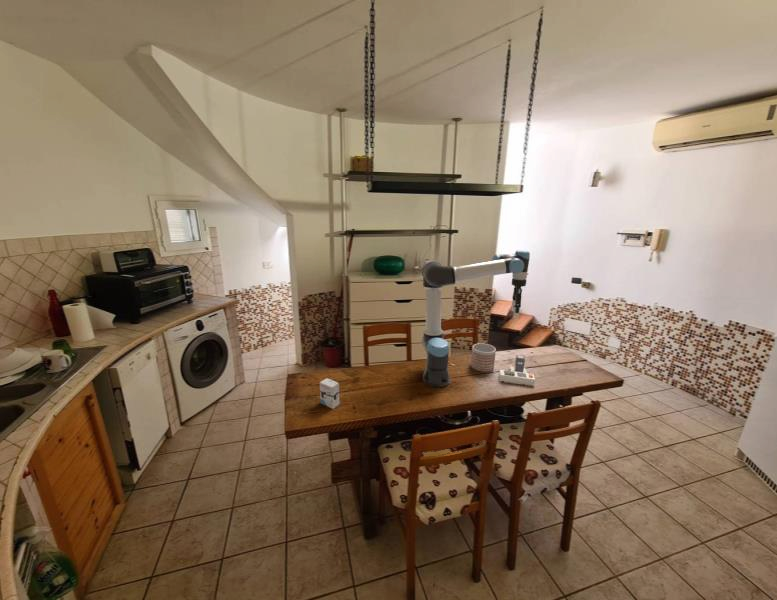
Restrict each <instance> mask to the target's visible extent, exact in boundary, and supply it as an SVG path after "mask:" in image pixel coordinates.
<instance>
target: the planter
mask: <svg viewBox="0 0 777 600" xmlns="http://www.w3.org/2000/svg"><path fill="white" fill-rule="evenodd" d="M496 351H497V349H496V347H495V346H493V345H491V344H489V343H482V342H479V343H475V344H473V345H472V348H471V357H470V358H471V359H470V367H471V368H472V369H474V370H475V371H478V372H483V373H488V372H491V371H493V370H494V368H495V361H496V353H497V352H496Z"/></svg>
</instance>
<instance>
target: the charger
mask: <svg viewBox="0 0 777 600" xmlns="http://www.w3.org/2000/svg"><path fill="white" fill-rule="evenodd" d="M525 361H526V358H525V355H520V354H519V355H518V354H516V355H515V361H514V362H515V363H514V367H515V368H514V369H515V372H522V373H523V370H524V368H525Z"/></svg>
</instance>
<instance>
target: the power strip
mask: <svg viewBox="0 0 777 600" xmlns="http://www.w3.org/2000/svg"><path fill="white" fill-rule="evenodd" d="M498 379H500V380H499V382H502V381H504V383H509V382H510V383H509V384H518V385H523V384H525V386H530V385H531V387H534V386H535V383H536V378H535V375H534V373H528V372H527V373H522V372H515V371H511V370H506V369H499V372H498Z"/></svg>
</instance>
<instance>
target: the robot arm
mask: <svg viewBox="0 0 777 600" xmlns="http://www.w3.org/2000/svg"><path fill="white" fill-rule="evenodd" d="M530 256H531V253H530V251H528V250H521V249H519V250H515V252H514V253H512V254H510V253H509V254H506V253H505V254H504V253H503V254H501V253H498V254H494V255H493V256H492V260H490V261H483V262H479V263H478V262H477V263H471V264H466V265H460V266H453V265H442V263H441V262H438V261H436V260H431V261H427V262H426V263H425V264H424V265H423V267H422V268H421V275H422V286H423V288H424V289H425V328H424V329H423V333H422V334H423V335H422V342H421V343H422V347H423V348H424V351H425V353H426V367H425V369H424V372H423V374H422V382H423V383H424V384H425V385H428V386H429V387H433V388H444V387H447V386H448V385H450V382H451V377H450V373H449V369H448V368H449V366H448V365H449V353H450V344H449V341H448V340H446V339H444V330H443V329H442V289H443V288H444V287H445V286H449V285H450V286H452V285H456V283H457V282H458V283H459V282H463V281H468V280H469V281H470V280H474V279H480V278H487V277H493V276H498V275H499V276H500V275H505V274H512V277H511V278H512V279H511V285H512V286H514V287H513V293H512V297H511V298H512V300H511V301H512V302H511V308H510V310H511V312H513V316H512V318H513V319H519V318H520V309H521V307H522V292H523V289H522V287H525V286H526V285H527V278H528V275H529V273H528V270H529V264H530V259H531V258H530Z"/></svg>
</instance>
